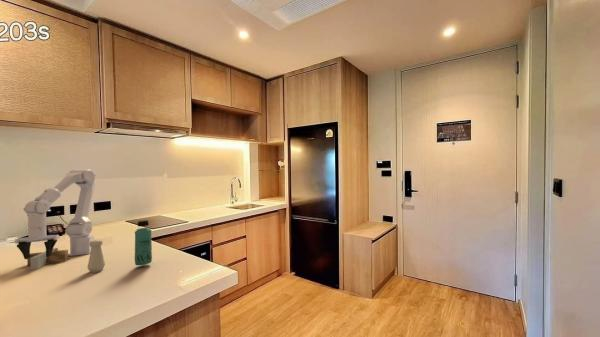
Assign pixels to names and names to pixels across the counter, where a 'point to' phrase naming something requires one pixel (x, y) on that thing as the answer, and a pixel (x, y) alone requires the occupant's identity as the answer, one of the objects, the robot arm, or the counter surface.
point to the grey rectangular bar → (40, 260)
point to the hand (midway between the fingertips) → (38, 257)
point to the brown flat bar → (52, 257)
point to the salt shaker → (96, 257)
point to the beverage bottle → (143, 244)
